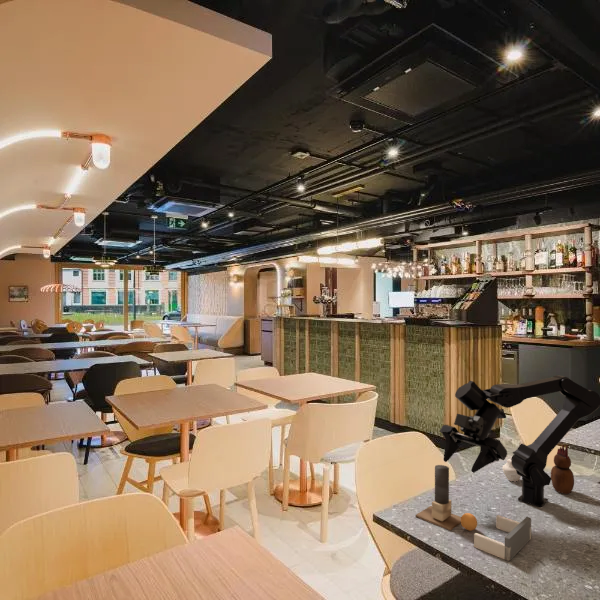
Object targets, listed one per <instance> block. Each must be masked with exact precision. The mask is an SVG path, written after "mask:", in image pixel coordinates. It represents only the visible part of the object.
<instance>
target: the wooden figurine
mask: <svg viewBox="0 0 600 600" xmlns="http://www.w3.org/2000/svg"><path fill="white" fill-rule="evenodd" d="M568 447H569V445H568V444H566V445H564V444H562V447H561V446H559V448H557V452H556V454H555V455H554V456H553V464H554V466H552V468H551V470H550V477H551V485H552V487H553V489H554V490H555V491H556V492H558V493H560V494H566V495H567V494H569V495H570V493H572V491H573V489H574V486H575V476H574V472H573V470H572V469H571V467H572V466H571V465H572V460H571V458H570V456H569V449H568Z"/></svg>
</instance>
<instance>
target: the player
mask: <svg viewBox="0 0 600 600" xmlns="http://www.w3.org/2000/svg"><path fill="white" fill-rule="evenodd" d="M431 506H432V518H435V519H438V520H440V521H444V520H445V519H446V518H448V517H449V516H451V513H452V499H450V467H449V466H447V465H443V464H437V465H435V466H434V500H433V501H431Z"/></svg>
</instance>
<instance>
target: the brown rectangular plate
mask: <svg viewBox="0 0 600 600" xmlns="http://www.w3.org/2000/svg"><path fill="white" fill-rule="evenodd" d="M461 517H462V516H459V515H456V514H455V513H452V512H451V516H449V517H448V518H446V519H445V520H444V521H440V520H438V519H435V518H432V505H429V506H428V507H426V508H424V509H423V510H421V511H420V512H418V513H416V514H415V518H417V519H420V520H422V521H424V522H427V523H430V524H433V525H435V526H437V527H440V528H443V529H445V530H447V531H452V530H453V529H455V528H456V527H458V526H459V525H460V524H461Z"/></svg>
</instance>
